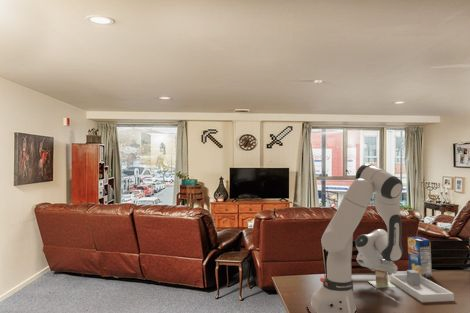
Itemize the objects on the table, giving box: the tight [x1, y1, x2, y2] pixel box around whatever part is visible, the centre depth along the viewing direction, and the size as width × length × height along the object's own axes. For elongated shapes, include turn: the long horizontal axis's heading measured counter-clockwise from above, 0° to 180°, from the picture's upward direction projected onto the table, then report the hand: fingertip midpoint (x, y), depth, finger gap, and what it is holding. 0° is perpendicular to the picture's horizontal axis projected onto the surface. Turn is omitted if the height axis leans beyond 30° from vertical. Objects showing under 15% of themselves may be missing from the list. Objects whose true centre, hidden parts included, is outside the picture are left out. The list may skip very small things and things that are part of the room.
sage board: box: [367, 280, 397, 290], centre depth 179 cm, size 11×10×1 cm
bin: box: [389, 273, 455, 303], centre depth 168 cm, size 16×29×4 cm, turn 2°
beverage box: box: [407, 235, 433, 278], centre depth 194 cm, size 7×11×22 cm, turn 7°
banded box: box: [374, 269, 389, 286], centre depth 179 cm, size 5×5×9 cm
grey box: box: [406, 269, 420, 286], centre depth 177 cm, size 4×4×7 cm
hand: (381, 272), depth 179 cm, fingers open, 8 cm apart
